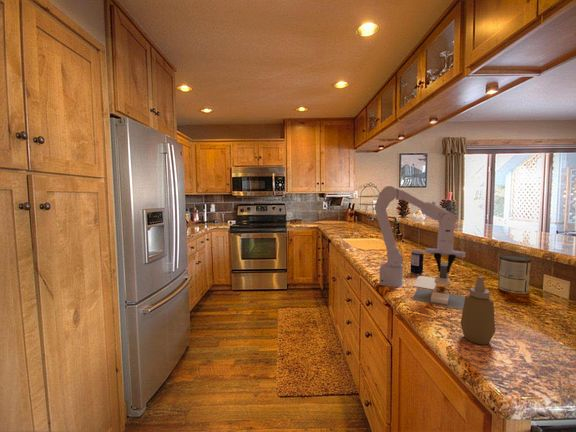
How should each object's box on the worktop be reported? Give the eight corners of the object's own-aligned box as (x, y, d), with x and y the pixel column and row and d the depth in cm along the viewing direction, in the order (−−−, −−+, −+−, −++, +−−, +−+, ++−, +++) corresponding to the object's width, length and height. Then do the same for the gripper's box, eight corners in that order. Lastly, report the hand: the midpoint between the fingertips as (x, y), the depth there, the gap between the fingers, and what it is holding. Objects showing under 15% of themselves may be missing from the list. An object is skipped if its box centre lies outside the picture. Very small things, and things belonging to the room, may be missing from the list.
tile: (432, 295, 109) (430, 301, 103) (432, 291, 109) (430, 297, 103) (448, 298, 106) (447, 305, 100) (448, 294, 106) (447, 300, 100)
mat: (411, 301, 105) (411, 299, 105) (417, 289, 117) (417, 288, 117) (471, 313, 95) (471, 311, 95) (471, 299, 107) (471, 297, 107)
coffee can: (493, 284, 124) (496, 253, 123) (521, 287, 121) (524, 255, 120) (503, 292, 115) (505, 259, 113) (533, 295, 111) (536, 261, 110)
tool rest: (413, 287, 119) (413, 285, 119) (418, 277, 134) (418, 275, 134) (433, 291, 115) (433, 289, 115) (437, 280, 129) (437, 278, 129)
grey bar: (434, 282, 111) (435, 268, 110) (438, 274, 123) (438, 261, 123) (448, 285, 108) (449, 270, 108) (451, 276, 121) (451, 263, 120)
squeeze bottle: (453, 332, 81) (456, 273, 80) (478, 331, 82) (482, 272, 81) (473, 348, 73) (478, 282, 72) (502, 346, 74) (506, 281, 73)
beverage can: (424, 275, 137) (425, 252, 136) (411, 275, 138) (412, 251, 137) (420, 272, 142) (422, 249, 141) (409, 271, 143) (410, 249, 142)
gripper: (466, 240, 115) (464, 272, 116) (427, 237, 123) (426, 267, 124) (466, 242, 109) (464, 276, 110) (425, 239, 117) (423, 270, 118)
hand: (443, 271), depth 117 cm, fingers closed on grey bar, 2 cm apart
